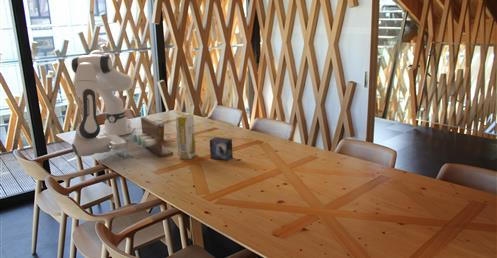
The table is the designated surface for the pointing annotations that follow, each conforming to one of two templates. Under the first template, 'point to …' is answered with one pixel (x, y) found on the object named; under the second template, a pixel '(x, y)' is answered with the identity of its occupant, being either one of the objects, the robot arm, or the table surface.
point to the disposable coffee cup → (161, 128)
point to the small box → (221, 148)
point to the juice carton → (185, 136)
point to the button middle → (139, 139)
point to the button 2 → (149, 142)
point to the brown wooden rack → (154, 132)
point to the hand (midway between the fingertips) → (129, 139)
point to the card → (124, 154)
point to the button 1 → (138, 136)
